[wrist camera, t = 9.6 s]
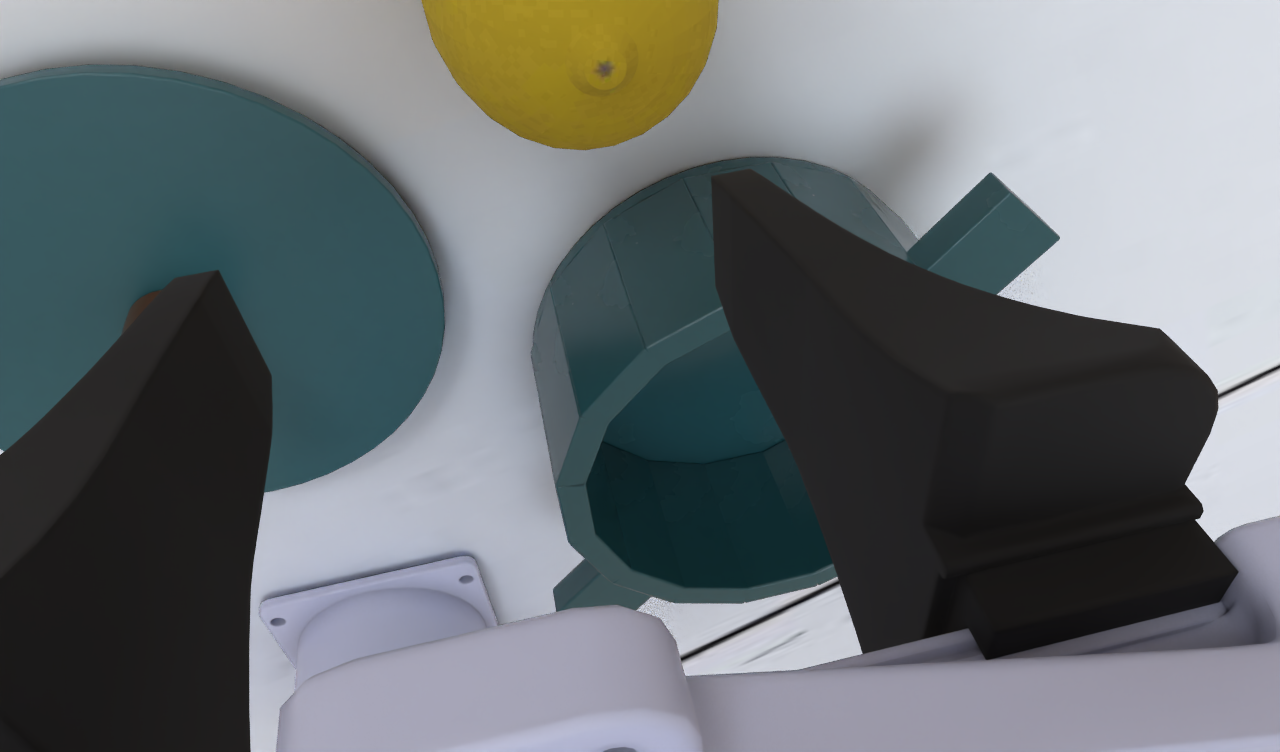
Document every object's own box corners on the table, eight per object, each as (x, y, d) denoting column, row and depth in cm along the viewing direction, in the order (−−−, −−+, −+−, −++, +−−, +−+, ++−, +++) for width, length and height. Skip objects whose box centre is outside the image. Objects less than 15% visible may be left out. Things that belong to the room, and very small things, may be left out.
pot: (1049, 221, 29) (1167, 337, 25) (685, 545, 36) (727, 679, 32) (792, -19, 22) (893, 84, 18) (408, 442, 30) (413, 594, 25)
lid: (536, 233, 25) (560, 338, 22) (306, 520, 31) (296, 639, 27) (-22, -82, 18) (-118, 2, 14) (-192, 372, 23) (-290, 509, 20)
